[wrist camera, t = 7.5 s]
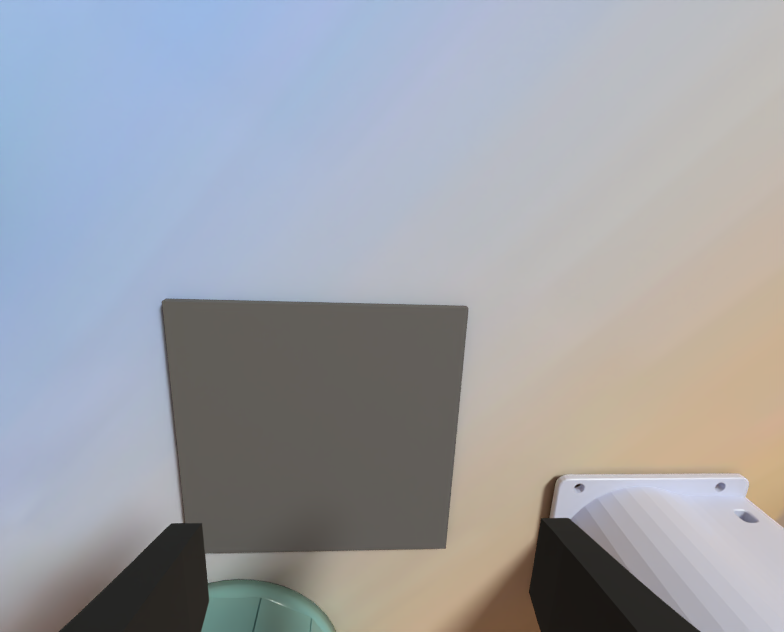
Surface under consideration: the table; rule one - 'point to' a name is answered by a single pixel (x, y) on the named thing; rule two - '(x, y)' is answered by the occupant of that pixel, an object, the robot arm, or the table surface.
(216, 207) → the table surface
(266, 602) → the bowl
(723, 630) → the robot arm
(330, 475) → the mat
